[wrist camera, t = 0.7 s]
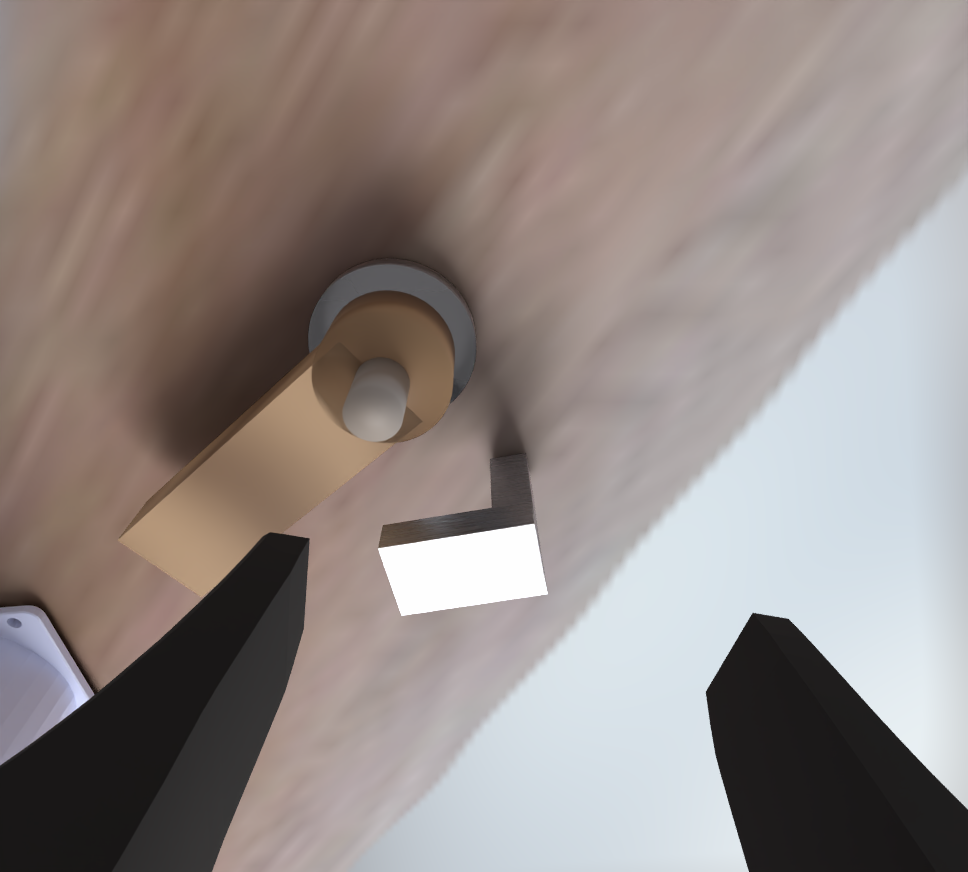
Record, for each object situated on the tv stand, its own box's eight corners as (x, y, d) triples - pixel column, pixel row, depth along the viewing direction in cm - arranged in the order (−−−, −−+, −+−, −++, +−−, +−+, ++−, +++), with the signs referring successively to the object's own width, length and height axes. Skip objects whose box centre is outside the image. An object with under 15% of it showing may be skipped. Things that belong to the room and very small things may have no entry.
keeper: (396, 457, 21) (378, 548, 17) (522, 436, 21) (534, 523, 17) (414, 517, 22) (401, 615, 18) (534, 498, 22) (547, 593, 18)
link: (391, 262, 17) (371, 310, 14) (480, 358, 18) (482, 422, 15) (139, 494, 20) (75, 576, 17) (230, 560, 22) (186, 647, 19)
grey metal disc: (332, 418, 20) (328, 428, 20) (295, 267, 18) (289, 274, 17) (483, 403, 20) (484, 414, 19) (466, 249, 18) (466, 256, 17)
